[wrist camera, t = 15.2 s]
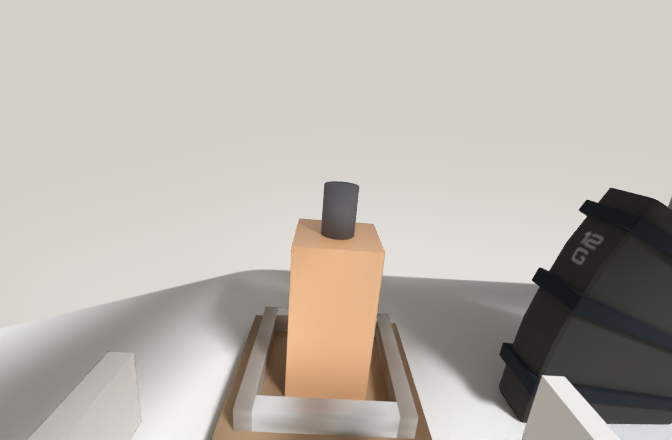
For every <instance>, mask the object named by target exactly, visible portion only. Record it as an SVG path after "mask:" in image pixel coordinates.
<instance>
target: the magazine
mask: <svg viewBox="0 0 672 440" xmlns="http://www.w3.org/2000/svg"><path fill="white" fill-rule="evenodd" d="M579 211H580V212H582V213H584V214H585V215H587V217H586V219H585V220H584V221H583V222H582V224H581V225H580V226H579V227H578V229H577V230H576V231H575V232H574V234H573V235H572V236H571V237H570V239H569V240H568V241H567V242H566V244H565V246H564V247H563V249H562V251H561V252H560V254H559V256H558V257H557V259H556V261H555V263H554V264H553V266H552V267H551V269H550V271H547V270H545V269H543V268H539V269H538V270H537V272H536V274H535V275H534V277H533V279H532V281H533V282H534V283H536V284H537V285H538V286H540V287H539V289H538V291H537V293H536V295H535V297H534V299H533V300H532V302H531V304H530V306H529V308H528V310H527V311H526V313H525V315H524V317H523V320H522V322H521V325H520V327H519V330H518V333H517V335H516V338H515V340H514V343H513V344H511V343H505V342H504V343H503V345H502V348H501V351H500V354H499V355H500V356H501V358H502V359H503V360H504V362H505V363H506V367H505V370H504V373H503V376H502V379H501V382H500V385H499V387H500V391H501V392H502V394H503V395H504V397H505V398H506V400H507V401H508V403H509V404H510V406H511V407H512V409H513V410H514V412H515V413H516V415H517V416H518V418H519V419H520V420H521V421H523V422H527V421H528V417H529V414H530V411H531V408H532V405H533V402H534V399H535V396H536V392H537V389H538V386H539V383H540V380H541V377H542V375H545V376H563V377H565V378H566V379H567V380H568V381H569V382H570V383H571V384H572V385H573V387H574V388H575V389H576V390H577V391H578V392H579V393H580V394H581V396H582V397H583V398H584V399H585V400H586V401H587V402H588V403H589V405H590V406H591V407H592V408H593V409H594V410H595V411H596V412H597V413H598V415H599V416H600V417H601V418H602V419H603V420H604V421H605V422H606V424H671V423H672V210H671V209H670V208H668V207H667V206H665V205H664V204H663V203H661V202H659V201H658V200H656V199H653V198H649V197H646V196H642V195H638V194H634V193H630V192H626V191H622V190H618V189H614V188H610V189H609V190H608V191H607V193H606V194H605V195H604V196H603V198H602V199H601V200H600V201H599V203H596V202H593V201H590V200H586V201H585V203H584V204H583V205H582V206H581V208H580V209H579Z"/></svg>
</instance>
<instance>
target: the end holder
mask: <svg viewBox="0 0 672 440" xmlns="http://www.w3.org/2000/svg"><path fill="white" fill-rule="evenodd" d="M288 315H289V308H275V307H266V309H265V312H264V315H263V316H260V315H256V317H255V319H254V322H253V325H252V328H251V330H250V333H249V336H248V339H247V342H246V344H245V347H244V350H243V353H242V355H241V358H240V361H239V364H238V367H237V369H236V372H235V375H234V378H233V380H232V383H231V386H230V389H229V392H228V394H227V397H226V400H225V403H224V405H223V408H222V411H221V414H220V417H219V419H218V422H217V425H216V428H215V430H214V433H213V436H212V439H211V440H432V438H431V435H430V432H429V428H428V425H427V422H426V419H425V416H424V413H423V409H422V406H421V403H420V400H419V397H418V394H417V390H416V387H415V384H414V381H413V378H412V375H411V371H410V368H409V365H408V362H407V359H406V356H405V352H404V349H403V346H402V343H401V340H400V337H399V333H398V330H397V327H396V324H395V323H390V319H389V316H388V314H377V318H376V325H375V332H374V340H373V347H372V355H371V362H370V369H369V377H368V384H367V392H366V399H365V400H344V399H324V398H304V397H285V380H286V359H287V337H288Z"/></svg>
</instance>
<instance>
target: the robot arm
mask: <svg viewBox="0 0 672 440" xmlns="http://www.w3.org/2000/svg"><path fill="white" fill-rule="evenodd" d="M668 208H670V209H671V210H672V198H671V200H670V203H669V205H668ZM141 421H142V419H141V410H140V402H139V393H138V384H137V375H136V366H135V357H134V353H131V352H113V351H109V352H108V353H107V354H106V355H105V356H104V357H103V358H102V359H101V360H100V361H99V363H98V364H97V365H96V366H95V367H94V368H93V369H92V370H91V371H90V372H89V373H88V374H87V375H86V377H85V378H84V379H83V380H82V381H81V382H80V383H79V384H78V385H77V386H76V387H75V388H74V390H73V391H72V392H71V393H70V394H69V395H68V396H67V397H66V398H65V399H64V400H63V401H62V402H61V404H60V405H59V406H58V407H57V408H56V409H55V410H54V411H53V412H52V413H51V414H50V415H49V417H48V418H47V419H46V420H45V421H44V422H43V423H42V424H41V425H40V426H39V427H38V428H37V430H36V431H35V432H34V433H33V434H32V435H31V436H30V437H29V438H28V439H27V440H131V438H132V436H133V435H134V433H135V431H136V430H137V428H138V426H139V425H140V423H141ZM522 440H621V439H620V438H619V437H618V436H617V435H616V434H615V433H614V431H613V430H612V429H611V428H610V427H609V426H608V425H607V424H606V422H605V421H604V420H603V419H602V418H601V417H600V416H599V415H598V413H597V412H596V411H595V410H594V409H593V408H592V407H591V406H590V405H589V403H588V402H587V401H586V400H585V399H584V398H583V397H582V396H581V394H580V393H579V392H578V391H577V390H576V389H575V388H574V387H573V385H572V384H571V383H570V382H569V381H568V380H567V379H566V378H565V377H563V376H545V375H542V377H541V380H540V383H539V386H538V389H537V392H536V396H535V399H534V402H533V405H532V408H531V411H530V414H529V417H528V421H527V424H526V427H525V430H524V433H523V436H522Z"/></svg>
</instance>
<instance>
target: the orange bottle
mask: <svg viewBox="0 0 672 440" xmlns="http://www.w3.org/2000/svg"><path fill="white" fill-rule="evenodd" d="M358 192H359V186H358V185H356V184H353V183H348V182H326V183H325V185H324V199H323V212H322V220H311V219H299V222H298V225H297V229H296V233H295V236H294V240H293V244H292V250H291V272H290V294H289V315H288V337H287V359H286V380H285V397H304V398H324V399H344V400H365V399H366V392H367V384H368V377H369V369H370V362H371V355H372V347H373V340H374V332H375V325H376V318H377V310H378V303H379V295H380V288H381V281H382V273H383V266H384V258H385V251H384V249H383V246H382V244H381V242H380V239H379V236H378V234H377V232H376V229H375V227H374V224H366V223H355V221H356V212H357V202H358Z"/></svg>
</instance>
